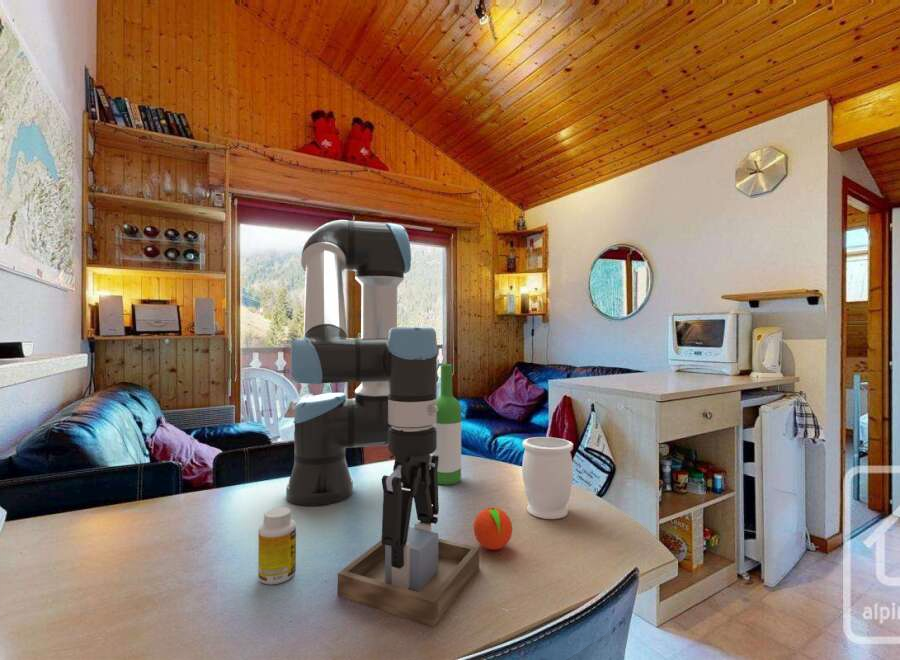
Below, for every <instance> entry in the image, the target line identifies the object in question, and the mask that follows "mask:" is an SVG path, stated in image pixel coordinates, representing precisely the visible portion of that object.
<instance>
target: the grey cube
mask: <svg viewBox="0 0 900 660" xmlns="http://www.w3.org/2000/svg"><path fill="white" fill-rule="evenodd" d="M438 539H439V533H438V532H435V531H431V532H430V531H426V530H421V529H417V528H415V527H411V526H409V529H408V536H407V542H408V543H410V589H413V590H417V591H421V589H422V588H423V587H424V586H425V585H426V584H427V583H428V582H429V581H430V580H431V579H432V578H433V576H434V575H435V574H436V573H437V572H438ZM385 581H386V582H389V583H392V565H391V546H388V545H385Z"/></svg>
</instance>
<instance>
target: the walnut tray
mask: <svg viewBox="0 0 900 660" xmlns="http://www.w3.org/2000/svg"><path fill="white" fill-rule="evenodd" d="M479 569H480V547H476V546H472V545H467V544H465V543H460V542H455V541H450V540H446V539H442V538H438V572H437V573H436V574H435V575H434V576H433V578H432V579H431V580H430V581H429V582H428V583H427V584H426V585H425V586H424V587H423V588H422V589H421V591H417V590H413V589H410V588H409V589H405V588H401V587H398V586H394V585H392V583H389V582H386V581H385V545H384V544H382V539H380V541H378V542H377V543H375V544H373V546H372V547H370V548H369V549H367V550H366V551H365V552H364V553H362V554H361V555H360V556H358V557H357V558H356V559H354V560H353V561H352V562H350V563H349V564H348V565H346V566H345V567H344V568H343V569H341V570H340V571H338V572H337V597H340V598H344V599H347V600H349V601H353V602H356V603H358V604H362V605H365V606H368V607H370V608H374V609H376V610H380V611H382V612H386V613H387V614H388V613H389V614H391V615H395V616H397V617H400V618H401V617H402V618H404V619H407V620H410V621H413V622H416V623H418V624H419V623H420V624H422V625H425V626H428V627H432V628H435V627H436V626H437V624H439V622H440V621H441V619H442V618H443V617H444V616H445V614H446V613H447V612H448V610H449V609H450V607H451V606H452V605H453V603H454V602H455V601H456V600H457V598H459V596H460V594H461V593H462V591H463V590H464V589H465V587H466V586H467V584H468V583H469V582H470V580H472V578H473V577H474V575H476V573H477V572H478V571H479Z"/></svg>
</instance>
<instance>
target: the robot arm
mask: <svg viewBox="0 0 900 660" xmlns="http://www.w3.org/2000/svg"><path fill="white" fill-rule="evenodd" d="M411 249H412V248H411V243H410V239H409V234H408V232H407V230H406V228H405V227H403V226H402V224H401V225H400V224H396V223H389V222H378V221H360V220H359V221H358V220H348V219H347V220H346V219H338V220H333V221H330V222H326V223H325V224H323V225H322V226H319V227H318V228H317V229H316V230H314V231H313V232H312V233H311V234H310V235H309V237H308V238H307V239H306V240H305V242H304V244H303V246H302V249H301V255H300V257H301V258H300V262H301V263H300V264H301V267H302V269H303V271H304V272H305V283H304V285H305V286H304V312H303V313H304V317H303V318H304V319H303V324H304V325H303V337H302V338H294V339H293V340H292V342H291V343H290V360H289V361H290V365H289V366H290V378H291V380H292V381H293V382H295V383H297V384H307V385H308V384H311V385H312V384H315V385H321V384H336V383H337V384H338V383H360V384H359V386H358V387H356V389H355V390H354V398H347V396H346V393H344V392H328V393H327V392H326V393H321V394H317V395H311V396H308V397H305V398H302V399H301V400H298V402H297V403H296V404H295V407H294V419H293V424H294V450H293V451H294V452H293V453H294V455H293V456H294V457H293V458H294V463H293V467H292V469H291V473H290V476H289V481H288V483H287V484H286V494H285V495H286V497H285V498H286V500H287V501H288V502H289V503H291V504H294V505H297V506H305V507H306V506H309V507H310V506H312V507H313V506H314V507H315V506H325V505H330V504H334V503H337V502H341V501H342V500H345V499H347V498H349V497H350V496H351V495H352V494H353V493H354V492H353V491H354V485H353V484H354V481H353V479H352V476H351V474H350V470H349V467H348V466H349V465H348V463H347V460H346V449H348V448H349V449H350V448H351V449H352V448H365V447H377V446H379V447H380V446H383V447H386V446H387V449H388V452H389V453H391V454H392V455H393V456H394V463H393V469H392V473H391V474H389V475H385V474H384V475H383V476H382V478H381V485H382V491H383V494H382V495H383V497H382V521H381V540H382V544H384V545H388V546H391V565H392V585H394V586H398V587H401V588H405V589H409V588H410V543H408V542H407V536H408V529H409V527H410V520H411V516H412V508H413V501H414V507H415V511H416V518H417V520H418V521H416V522H415V523H414V528H417V529H421V530H426V531H430V532H432V524H434V525H437V524H438V522H439V517H438V516H437V515H438V514H439V509H440V508H439V505H440V504H439V484H438V471H437V469H438V461H439V456H438V455H431V453H433V452H434V451H435V450H436V448H437V429H436V428H435V426H433V425H434V424H435V423H436V412H437V411H438V407H437V406H436V399H437V398H438V395H437V392H438V391H437V383H438V382H437V379H438V378H437V376H438V373H437V372H438V369H437V368H438V352H439V347H438V342H437V332H436V330H435V328H433V327H431V326H398V287H399V285H400V284H401V283H402V282H403V281H404V277H405V276H404V275H405V274H407V273H409V272H410V271H411V267H412V263H411V261H412V251H411ZM344 271H353V272H355V273H354V274H355V275H354V276H355V277H354V279H355V280H356V281H357V282H358V284H360V286H361V331H360V332H361V335H360V336H361V337H360V338H359V337H356V338H354V337H353V338H351V337H348V330H347V316H346V314H347V313H346V304H345V303H346V302H345V301H346V300H345V292H344V291H345V290H344V277H343V276H344V275H343V273H344ZM435 515H436V516H435Z"/></svg>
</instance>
